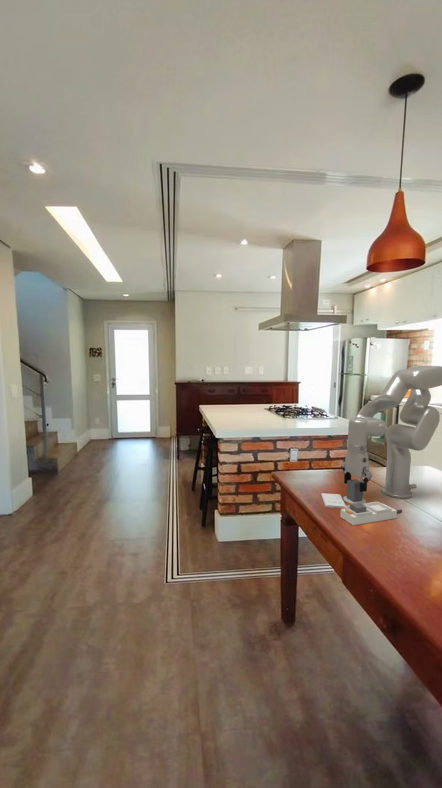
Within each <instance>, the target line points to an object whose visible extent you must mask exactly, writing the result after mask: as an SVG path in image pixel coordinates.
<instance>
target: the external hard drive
mask: <svg viewBox="0 0 442 788" xmlns="http://www.w3.org/2000/svg"><path fill="white" fill-rule="evenodd" d="M320 496H321V499H322V501H323V504H324V506H325V508H330V509H331V508H333V509H335V508H336V509H344V506H347V505H346V502H345V501H344V500H343V497H342V495H341V494H339V493H325V492H322V493H321V494H320Z"/></svg>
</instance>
